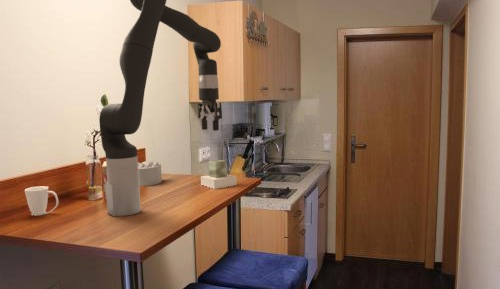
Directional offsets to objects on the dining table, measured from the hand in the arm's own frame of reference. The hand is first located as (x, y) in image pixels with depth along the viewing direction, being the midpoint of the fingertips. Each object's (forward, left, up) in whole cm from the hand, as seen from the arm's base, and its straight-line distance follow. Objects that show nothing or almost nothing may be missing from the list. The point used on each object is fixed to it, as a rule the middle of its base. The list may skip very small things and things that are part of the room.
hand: (210, 130), depth 172 cm
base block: (+2, -1, -22) cm, 22 cm away
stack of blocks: (-34, +14, -22) cm, 43 cm away
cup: (-61, +1, -22) cm, 65 cm away
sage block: (+2, -1, -18) cm, 18 cm away
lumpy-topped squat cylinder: (-16, +25, -22) cm, 37 cm away
